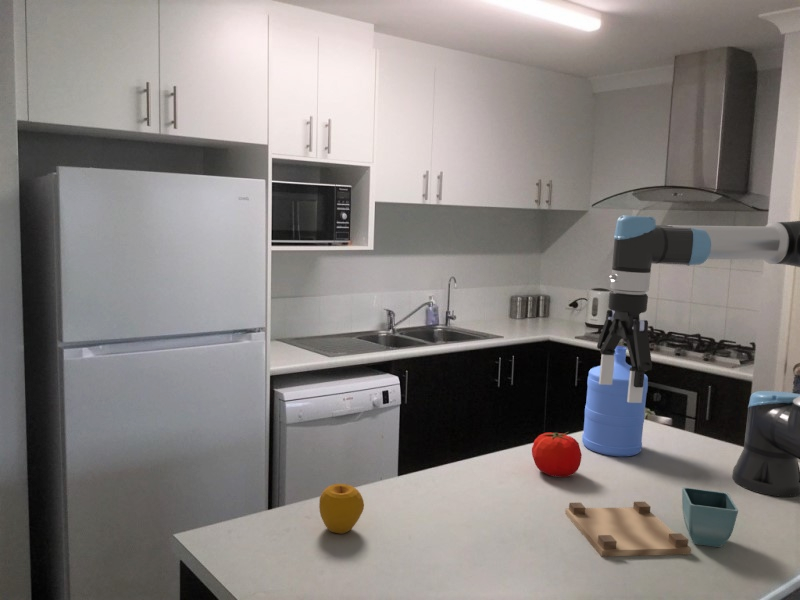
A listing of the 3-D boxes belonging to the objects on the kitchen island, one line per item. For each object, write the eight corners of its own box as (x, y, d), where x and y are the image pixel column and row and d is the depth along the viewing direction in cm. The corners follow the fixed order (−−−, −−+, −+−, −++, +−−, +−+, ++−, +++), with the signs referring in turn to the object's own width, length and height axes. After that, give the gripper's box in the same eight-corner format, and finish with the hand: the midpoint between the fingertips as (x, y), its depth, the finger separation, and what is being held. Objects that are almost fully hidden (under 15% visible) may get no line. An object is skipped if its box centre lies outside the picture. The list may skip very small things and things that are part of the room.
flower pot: (734, 554, 134) (739, 510, 133) (685, 548, 136) (690, 504, 134) (722, 534, 142) (727, 492, 141) (677, 528, 144) (681, 486, 143)
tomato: (586, 472, 172) (589, 432, 171) (570, 487, 163) (574, 444, 161) (540, 461, 179) (543, 422, 177) (522, 474, 169) (526, 433, 168)
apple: (368, 524, 139) (370, 482, 137) (351, 543, 131) (353, 498, 130) (329, 516, 141) (331, 474, 140) (310, 534, 133) (312, 490, 132)
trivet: (644, 512, 151) (645, 500, 150) (690, 554, 133) (692, 540, 133) (565, 513, 148) (566, 501, 148) (601, 556, 131) (602, 542, 130)
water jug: (632, 462, 181) (643, 356, 177) (573, 448, 189) (582, 347, 186) (647, 446, 194) (657, 347, 190) (592, 434, 202) (600, 339, 198)
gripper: (587, 283, 154) (579, 377, 157) (640, 300, 130) (629, 410, 133) (619, 284, 155) (610, 377, 158) (678, 301, 131) (666, 410, 134)
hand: (619, 392), depth 145 cm, fingers open, 13 cm apart
